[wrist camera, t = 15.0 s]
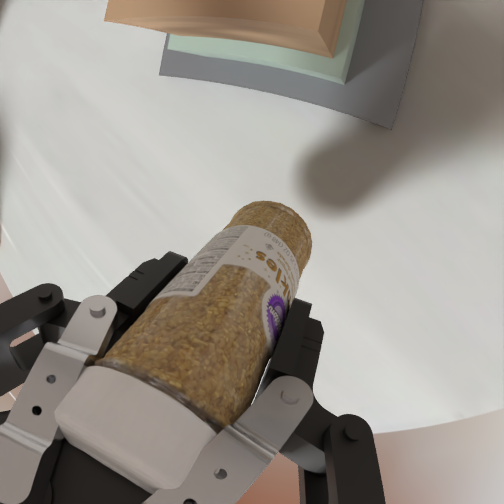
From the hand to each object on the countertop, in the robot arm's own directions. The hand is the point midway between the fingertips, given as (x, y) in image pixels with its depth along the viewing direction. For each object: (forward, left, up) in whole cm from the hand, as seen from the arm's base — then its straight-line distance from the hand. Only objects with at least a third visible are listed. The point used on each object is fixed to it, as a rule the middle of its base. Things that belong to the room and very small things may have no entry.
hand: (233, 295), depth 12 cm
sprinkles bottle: (0, 0, -6) cm, 6 cm away
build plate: (-3, +12, -9) cm, 15 cm away
